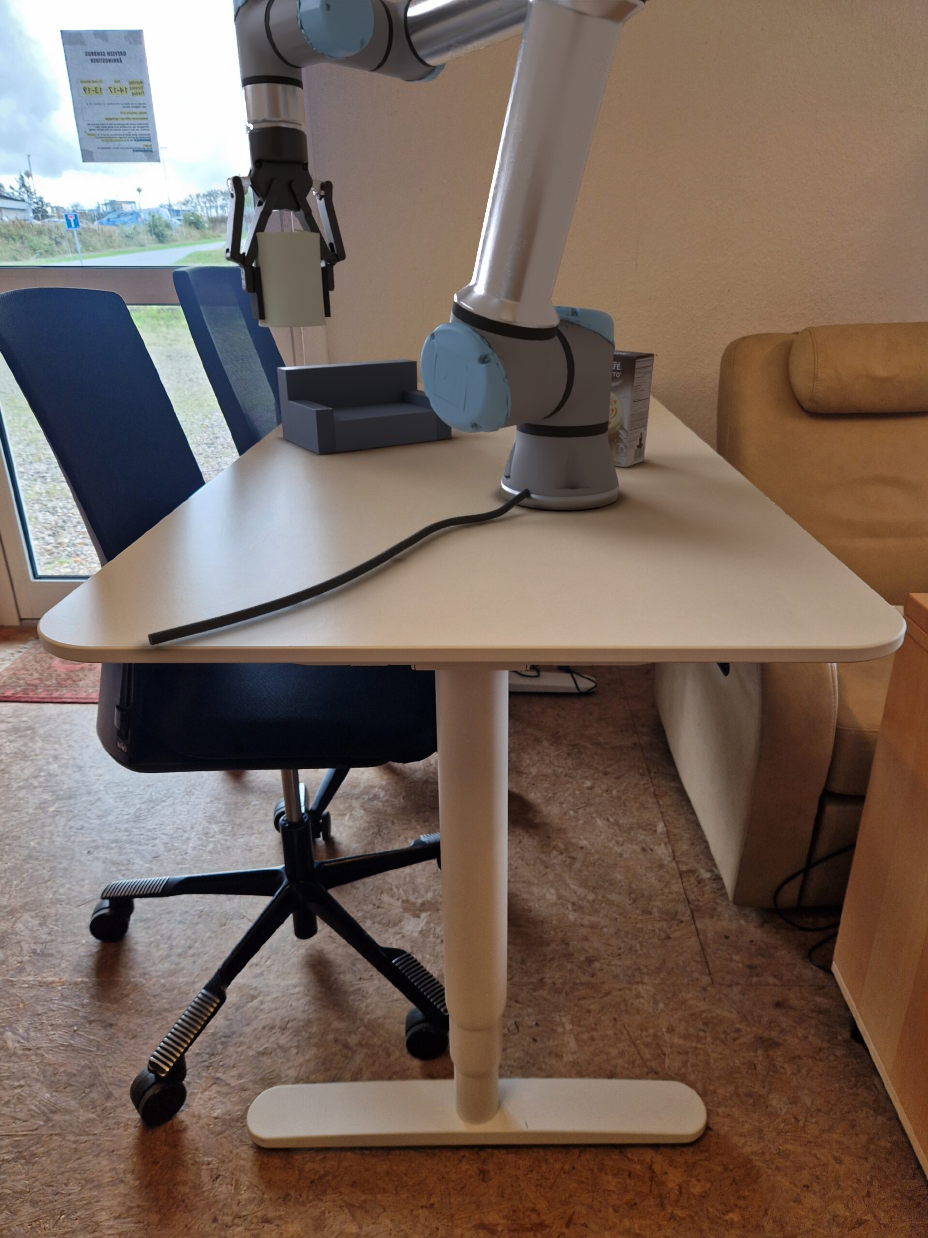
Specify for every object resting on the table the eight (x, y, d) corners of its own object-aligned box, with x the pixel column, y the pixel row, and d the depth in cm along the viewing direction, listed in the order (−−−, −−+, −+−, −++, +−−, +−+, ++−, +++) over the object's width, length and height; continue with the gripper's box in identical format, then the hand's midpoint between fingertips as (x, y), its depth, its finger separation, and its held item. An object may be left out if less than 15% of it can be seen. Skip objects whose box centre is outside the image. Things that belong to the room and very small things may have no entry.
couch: (451, 438, 143) (451, 367, 139) (318, 454, 131) (313, 377, 126) (408, 424, 156) (406, 358, 151) (283, 438, 144) (276, 367, 139)
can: (306, 327, 108) (298, 226, 103) (245, 326, 110) (235, 228, 106) (337, 323, 116) (331, 229, 111) (280, 322, 118) (272, 231, 114)
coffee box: (573, 459, 127) (579, 351, 121) (595, 452, 132) (601, 348, 125) (626, 468, 122) (635, 355, 115) (646, 460, 126) (656, 352, 120)
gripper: (341, 139, 112) (352, 314, 121) (182, 126, 101) (206, 319, 110) (365, 131, 106) (374, 316, 115) (199, 117, 96) (223, 322, 104)
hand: (292, 317), depth 113 cm, fingers closed on can, 9 cm apart
